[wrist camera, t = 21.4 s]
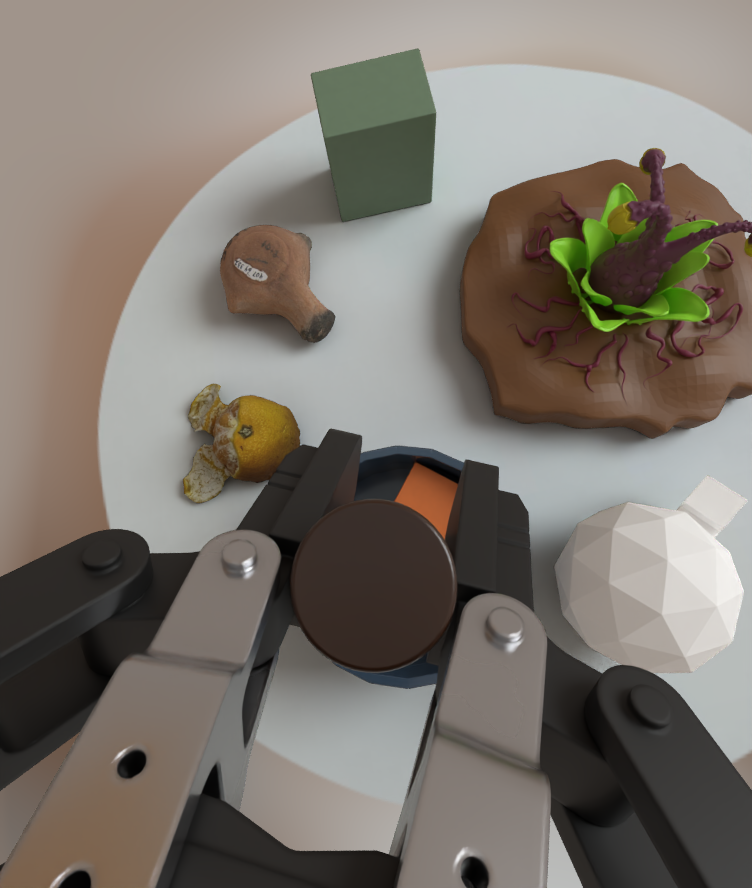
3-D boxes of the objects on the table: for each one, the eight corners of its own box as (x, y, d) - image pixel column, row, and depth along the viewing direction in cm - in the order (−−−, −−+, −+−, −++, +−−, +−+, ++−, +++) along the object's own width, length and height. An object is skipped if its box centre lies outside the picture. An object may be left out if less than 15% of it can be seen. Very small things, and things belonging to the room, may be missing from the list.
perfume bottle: (640, 717, 28) (761, 568, 30) (700, 712, 20) (855, 512, 23) (518, 604, 32) (633, 481, 35) (528, 563, 24) (675, 409, 27)
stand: (342, 222, 38) (323, 138, 30) (330, 167, 39) (310, 72, 31) (431, 202, 38) (436, 112, 30) (417, 148, 39) (419, 47, 31)
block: (440, 555, 32) (444, 556, 28) (386, 524, 32) (382, 521, 28) (469, 500, 32) (477, 493, 28) (415, 471, 33) (415, 461, 29)
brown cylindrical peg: (355, 621, 15) (284, 717, 7) (338, 526, 16) (253, 499, 7) (449, 603, 15) (503, 675, 7) (429, 508, 16) (453, 459, 7)
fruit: (190, 389, 36) (166, 372, 32) (303, 384, 35) (291, 365, 32) (184, 504, 34) (157, 498, 31) (303, 500, 34) (290, 494, 30)
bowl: (327, 678, 31) (307, 708, 25) (295, 484, 34) (271, 471, 28) (523, 640, 31) (549, 661, 25) (475, 447, 34) (489, 425, 28)
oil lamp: (234, 358, 37) (340, 347, 37) (214, 343, 33) (332, 331, 33) (226, 243, 38) (330, 232, 38) (206, 215, 34) (322, 202, 33)
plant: (442, 199, 38) (455, 57, 27) (706, 166, 37) (832, 4, 26) (477, 457, 33) (508, 412, 23) (776, 427, 32) (961, 366, 22)
